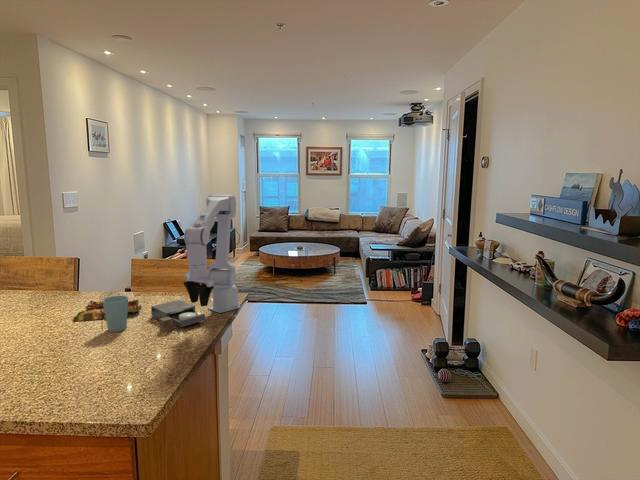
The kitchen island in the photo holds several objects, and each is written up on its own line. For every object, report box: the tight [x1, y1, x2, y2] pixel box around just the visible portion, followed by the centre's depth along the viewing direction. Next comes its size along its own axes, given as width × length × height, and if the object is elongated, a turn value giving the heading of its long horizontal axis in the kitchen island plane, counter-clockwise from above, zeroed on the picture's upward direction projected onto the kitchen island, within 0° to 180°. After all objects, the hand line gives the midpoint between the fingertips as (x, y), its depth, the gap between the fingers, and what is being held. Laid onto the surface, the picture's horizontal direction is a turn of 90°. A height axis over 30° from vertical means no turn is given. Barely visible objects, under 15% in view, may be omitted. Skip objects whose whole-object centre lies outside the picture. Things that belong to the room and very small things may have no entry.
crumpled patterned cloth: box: [73, 299, 143, 322], centre depth 151 cm, size 22×19×4 cm
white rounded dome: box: [179, 312, 196, 321], centre depth 140 cm, size 6×6×2 cm
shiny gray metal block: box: [150, 299, 196, 322], centre depth 146 cm, size 11×11×4 cm
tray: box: [169, 311, 206, 328], centre depth 141 cm, size 9×10×2 cm
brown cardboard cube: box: [158, 317, 174, 333], centre depth 134 cm, size 3×3×4 cm
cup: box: [101, 295, 129, 333], centre depth 134 cm, size 8×8×10 cm
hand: (199, 303), depth 134 cm, fingers open, 5 cm apart
